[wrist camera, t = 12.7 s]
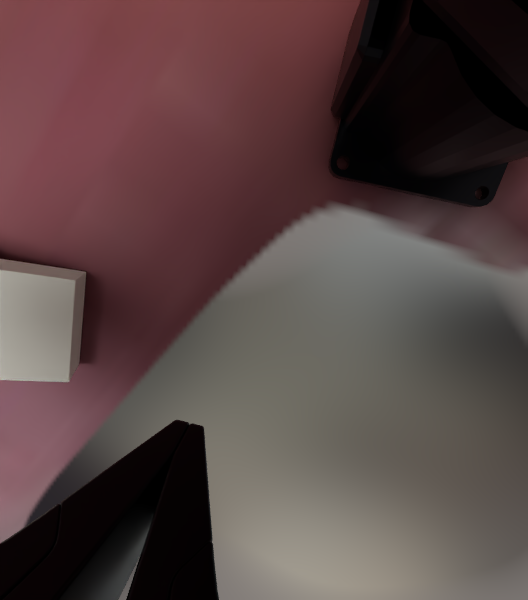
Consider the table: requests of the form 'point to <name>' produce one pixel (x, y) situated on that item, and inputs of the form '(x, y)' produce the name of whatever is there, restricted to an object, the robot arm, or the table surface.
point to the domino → (40, 321)
